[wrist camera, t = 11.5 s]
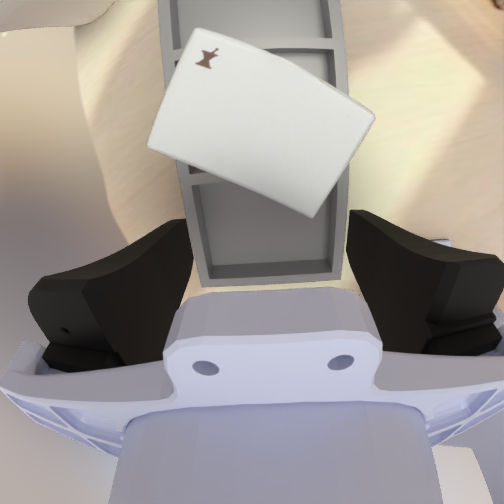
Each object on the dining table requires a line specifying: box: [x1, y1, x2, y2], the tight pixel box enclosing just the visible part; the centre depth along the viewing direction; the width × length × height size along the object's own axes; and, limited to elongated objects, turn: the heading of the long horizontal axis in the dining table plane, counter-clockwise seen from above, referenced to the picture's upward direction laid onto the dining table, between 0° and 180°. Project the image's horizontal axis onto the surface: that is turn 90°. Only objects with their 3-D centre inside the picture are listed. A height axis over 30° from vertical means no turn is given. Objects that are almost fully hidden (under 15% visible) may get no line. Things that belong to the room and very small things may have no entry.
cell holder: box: [158, 0, 349, 287], centre depth 17 cm, size 27×12×3 cm, turn 5°
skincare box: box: [147, 28, 375, 218], centre depth 12 cm, size 6×4×12 cm
